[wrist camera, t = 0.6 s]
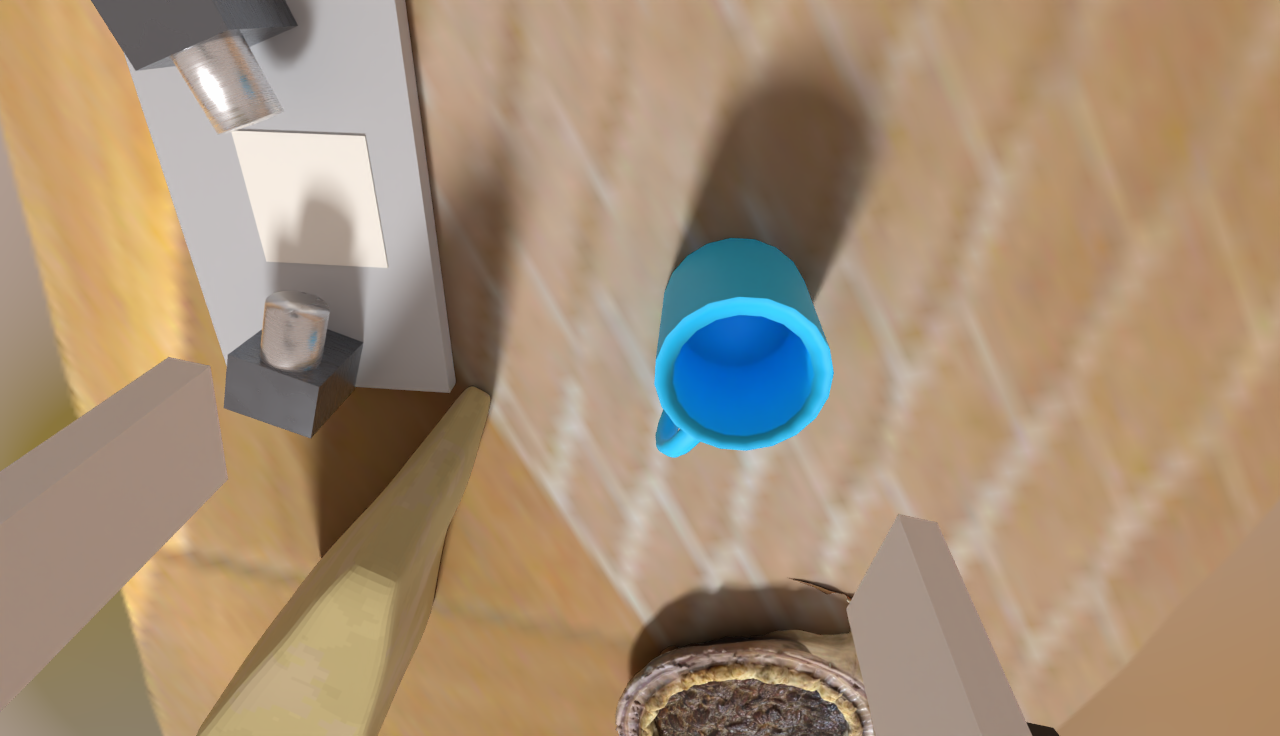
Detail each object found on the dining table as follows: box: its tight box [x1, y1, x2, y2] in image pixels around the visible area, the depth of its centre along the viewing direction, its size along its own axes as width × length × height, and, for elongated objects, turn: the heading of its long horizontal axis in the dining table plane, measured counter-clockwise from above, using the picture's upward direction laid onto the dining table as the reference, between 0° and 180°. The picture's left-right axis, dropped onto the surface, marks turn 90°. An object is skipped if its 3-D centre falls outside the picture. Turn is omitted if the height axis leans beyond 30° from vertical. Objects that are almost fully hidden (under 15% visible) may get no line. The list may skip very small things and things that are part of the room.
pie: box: [616, 578, 876, 736], centre depth 52 cm, size 28×27×5 cm
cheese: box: [196, 386, 490, 736], centre depth 40 cm, size 22×10×15 cm, turn 150°
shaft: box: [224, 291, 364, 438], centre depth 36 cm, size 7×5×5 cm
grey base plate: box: [124, 0, 456, 393], centre depth 35 cm, size 24×14×1 cm, turn 179°
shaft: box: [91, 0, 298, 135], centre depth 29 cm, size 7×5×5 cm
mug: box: [655, 238, 834, 457], centre depth 34 cm, size 12×8×8 cm
